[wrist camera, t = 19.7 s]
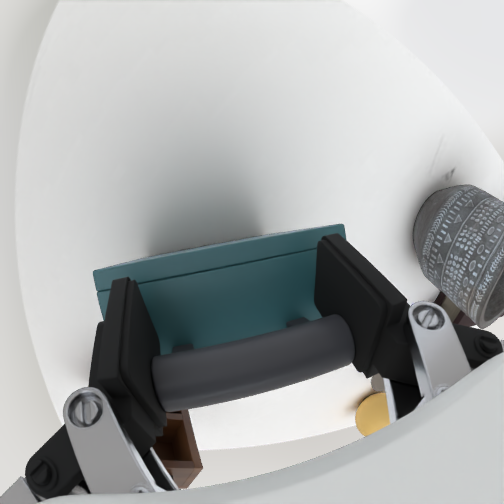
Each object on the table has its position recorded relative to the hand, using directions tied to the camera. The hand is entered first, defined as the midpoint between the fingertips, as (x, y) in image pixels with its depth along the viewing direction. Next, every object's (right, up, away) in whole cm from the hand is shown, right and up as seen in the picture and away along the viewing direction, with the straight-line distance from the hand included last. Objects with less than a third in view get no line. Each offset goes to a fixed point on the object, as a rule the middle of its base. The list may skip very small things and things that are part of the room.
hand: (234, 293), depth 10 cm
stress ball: (+24, -28, +40) cm, 55 cm away
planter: (+22, +5, +20) cm, 30 cm away
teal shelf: (-1, +2, +5) cm, 5 cm away
